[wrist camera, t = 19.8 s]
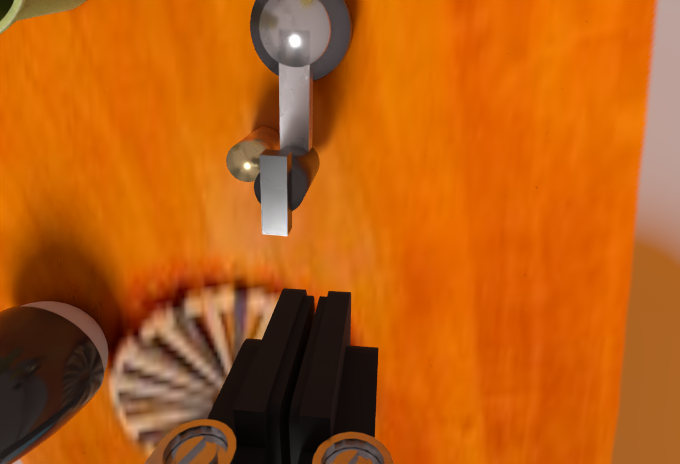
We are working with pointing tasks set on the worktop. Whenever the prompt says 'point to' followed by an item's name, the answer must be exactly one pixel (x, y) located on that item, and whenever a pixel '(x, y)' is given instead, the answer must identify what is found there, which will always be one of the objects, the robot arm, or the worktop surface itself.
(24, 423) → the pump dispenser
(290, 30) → the crank handle
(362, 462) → the robot arm
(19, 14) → the plant pot
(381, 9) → the worktop surface
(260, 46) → the crank base
